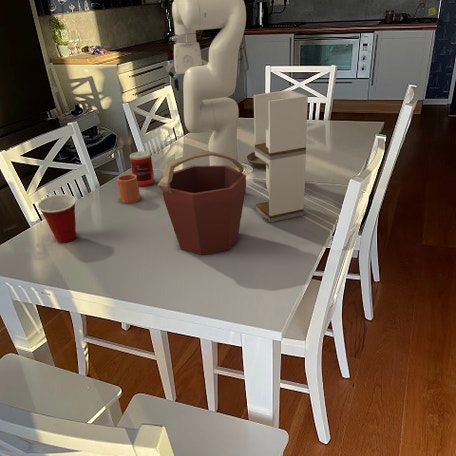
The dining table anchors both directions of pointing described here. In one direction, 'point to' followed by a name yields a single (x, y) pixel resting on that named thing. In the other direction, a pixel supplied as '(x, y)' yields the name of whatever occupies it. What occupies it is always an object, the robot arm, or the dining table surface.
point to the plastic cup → (60, 216)
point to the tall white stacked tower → (282, 151)
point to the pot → (128, 188)
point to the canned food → (142, 168)
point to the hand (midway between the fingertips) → (190, 89)
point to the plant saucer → (256, 161)
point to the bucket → (204, 203)
